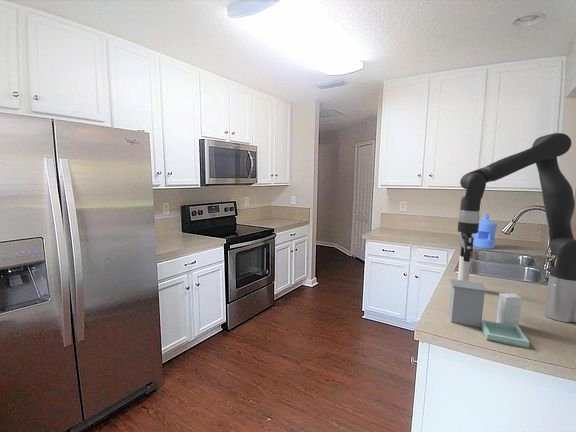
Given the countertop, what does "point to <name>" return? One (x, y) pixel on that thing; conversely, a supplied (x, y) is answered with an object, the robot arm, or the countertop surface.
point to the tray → (504, 333)
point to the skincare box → (509, 309)
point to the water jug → (485, 234)
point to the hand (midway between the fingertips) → (464, 258)
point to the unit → (466, 302)
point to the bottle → (463, 269)
